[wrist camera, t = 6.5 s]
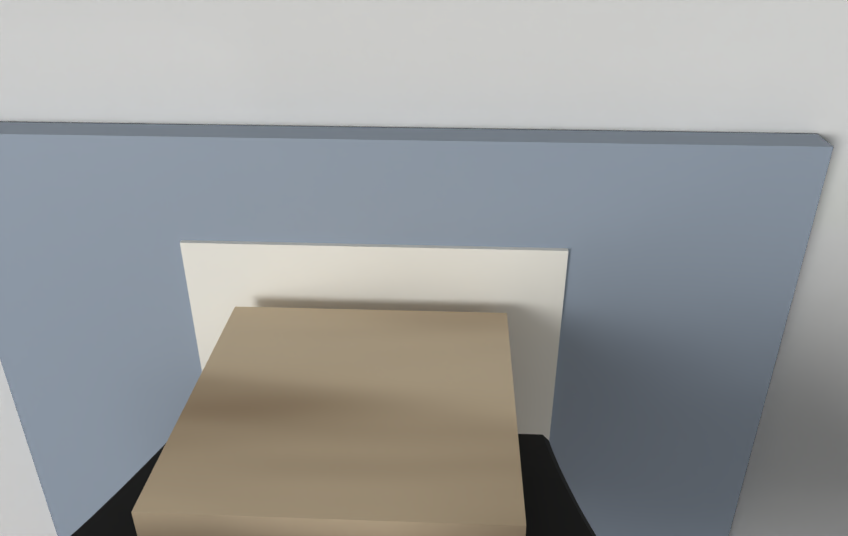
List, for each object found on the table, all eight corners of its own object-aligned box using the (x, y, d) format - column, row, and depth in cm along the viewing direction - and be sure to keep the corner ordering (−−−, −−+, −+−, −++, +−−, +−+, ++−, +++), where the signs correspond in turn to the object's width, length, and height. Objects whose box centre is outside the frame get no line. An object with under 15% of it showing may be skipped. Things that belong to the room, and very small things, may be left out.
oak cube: (494, 512, 15) (506, 755, 11) (262, 504, 15) (189, 740, 11) (507, 313, 12) (526, 525, 9) (234, 306, 13) (131, 511, 9)
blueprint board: (704, 571, 17) (713, 598, 16) (80, 547, 17) (66, 572, 17) (817, 134, 12) (835, 149, 11) (-51, 120, 13) (-78, 135, 12)
